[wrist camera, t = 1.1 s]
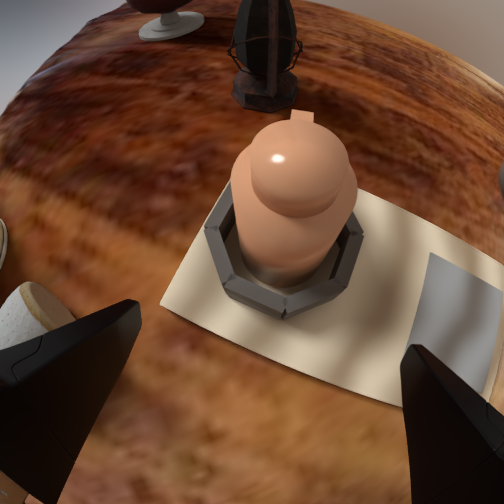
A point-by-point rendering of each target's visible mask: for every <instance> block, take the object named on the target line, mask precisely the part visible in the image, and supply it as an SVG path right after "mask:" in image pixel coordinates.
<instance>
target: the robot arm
mask: <svg viewBox="0 0 504 504" xmlns="http://www.w3.org/2000/svg"><path fill="white" fill-rule="evenodd" d="M141 325H142V318H141V310H140V304H139V302H138V301H135V300H131V299H126V300H123V301H121V302H118V303H116V304H114V305H111V306H109V307H107V308H104V309H102V310H99V311H97V312H95V313H92V314H90V315H87V316H85V317H83V318H80V319H78V320H75V321H73V322H71V323H68V324H66V325H63V326H61V327H59V328H56V329H54V330H52V331H49V332H47V333H44V335H40V336H37V337H35V338H32V339H30V340H27V341H25V342H22V343H20V344H17V345H14V346H11V347H8V348H5V349H2V350H0V504H25V502H24V501H25V500H26V498H27V496H28V494H30V495H32V496H33V497H35V498H36V499H38V500H39V501H40V502H42V503H43V504H57V502H58V499H59V497H60V495H61V492H62V490H63V488H64V486H65V483H66V481H67V479H68V477H69V475H70V472H71V470H72V468H73V466H74V464H75V461H76V459H77V457H78V455H79V453H80V451H81V449H82V447H83V445H84V443H85V441H86V439H87V437H88V435H89V433H90V431H91V429H92V427H93V425H94V423H95V421H96V419H97V417H98V415H99V413H100V411H101V409H102V407H103V405H104V403H105V401H106V399H107V398H108V396H109V394H110V392H111V390H112V388H113V386H114V384H115V383H116V381H117V379H118V377H119V375H120V373H121V372H122V370H123V368H124V366H125V364H126V362H127V360H128V357H129V355H130V353H131V350H132V348H133V345H134V343H135V340H136V338H137V336H138V333H139V331H140V329H141ZM400 379H401V394H402V407H403V415H404V422H405V429H406V437H407V445H408V455H409V466H410V479H411V498H412V504H504V416H503V415H502V414H501V413H500V412H498V411H497V410H496V409H495V408H494V407H493V406H492V405H491V404H490V403H488V402H486V400H485V399H484V398H483V397H482V396H481V395H480V394H478V393H477V392H476V391H475V390H474V389H473V388H472V387H471V386H469V385H468V384H467V383H466V382H465V381H464V380H463V379H462V378H460V377H459V376H458V375H457V374H456V373H455V372H454V371H452V370H451V369H450V368H449V367H448V366H447V365H445V364H444V363H443V362H442V361H441V360H440V359H438V358H437V357H436V356H435V355H434V354H433V353H431V352H430V351H429V350H428V349H427V348H426V347H424V346H423V345H422V344H411V345H410V346H409V347H408V349H407V351H406V353H405V355H404V357H403V358H402V360H401V363H400Z"/></svg>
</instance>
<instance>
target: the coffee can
mask: <svg viewBox="0 0 504 504" xmlns="http://www.w3.org/2000/svg"><path fill="white" fill-rule="evenodd" d="M7 237H8V235H7V229H6V226H5V223H4V222H3V221H2V220H1V219H0V270H1V268H2V265H3V262H4V259H5V255H6V250H7V239H8V238H7Z"/></svg>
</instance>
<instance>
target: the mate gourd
mask: <svg viewBox="0 0 504 504" xmlns="http://www.w3.org/2000/svg"><path fill="white" fill-rule="evenodd" d="M126 1H127V2H128V4H129V5H130V7H132V8H134V9H136V10H137V11H139V12H141V13H160V14H161V17H159V18H156V19H154V20H152V21H150V22H148V23H147V24H145V25H144V26H143V27H142V28H141V29H140V30H139V36H140V38H141V39H142V40H146V41H160V40H166V39H171V38H175V37H179V36H182V35H185V34H187V33H190V32H192V31H194V30H196V29H198V28H199V27H200V26H202V25H203V23H204V16H203V15H202V14H200V13H196V12H178V13H177V12H176V9H178V8H180V7H182V6H184V5H186V4H188V3H189V2H191V1H192V0H126Z"/></svg>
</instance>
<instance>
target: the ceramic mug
mask: <svg viewBox="0 0 504 504" xmlns="http://www.w3.org/2000/svg"><path fill="white" fill-rule="evenodd" d="M75 320H76V319H75V318H74V317H73V315H72V314H71V313H70V311H69V310H68V309H67V308H66V307H65V306H64V305H63V304H62V303H61V302H60V301H59V300H58V299H57V298H56V297H55V296H54V295H53V294H52V293H51V292H50V291H48V290H47V289H46V288H44V287H43V286H41V285H39V284H37V283H35V282H24V283H23V284H21V285H20V286H19V287H18V288H17V289H15V290H14V291H13V292H12V294H11V295H10V296H9V297H8V298H7V300H6V301H5V303H4V304H3V306H2V307H1V309H0V350H2V349H5V348H8V347H11V346H14V345H17V344H20V343H22V342H25V341H27V340H30V339H32V338H35V337H37V336H40V335H44V333H47V332H49V331H52V330H54V329H56V328H59V327H61V326H63V325H66V324H68V323H71V322H73V321H75Z"/></svg>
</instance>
